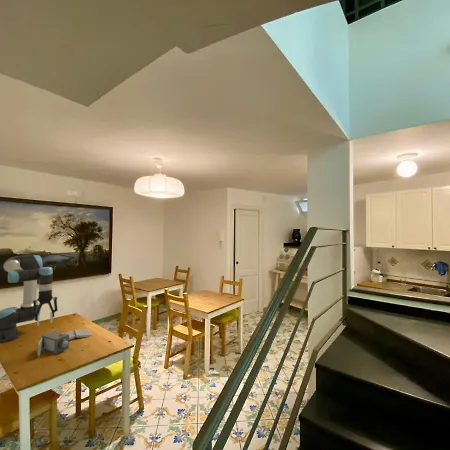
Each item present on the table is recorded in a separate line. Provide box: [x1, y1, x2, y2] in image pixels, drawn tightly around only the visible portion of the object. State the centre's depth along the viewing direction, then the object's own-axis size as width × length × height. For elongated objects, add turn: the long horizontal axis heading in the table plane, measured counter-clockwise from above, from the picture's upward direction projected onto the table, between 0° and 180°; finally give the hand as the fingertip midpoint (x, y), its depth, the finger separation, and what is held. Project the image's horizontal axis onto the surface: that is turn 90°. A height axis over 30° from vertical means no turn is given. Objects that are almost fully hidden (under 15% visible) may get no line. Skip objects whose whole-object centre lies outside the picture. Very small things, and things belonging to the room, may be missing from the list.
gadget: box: [64, 328, 93, 341], centre depth 199 cm, size 23×15×4 cm, turn 127°
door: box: [36, 336, 43, 357], centre depth 170 cm, size 13×2×8 cm, turn 28°
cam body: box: [41, 330, 70, 355], centre depth 177 cm, size 19×9×11 cm, turn 66°
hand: (44, 323), depth 169 cm, fingers open, 7 cm apart
